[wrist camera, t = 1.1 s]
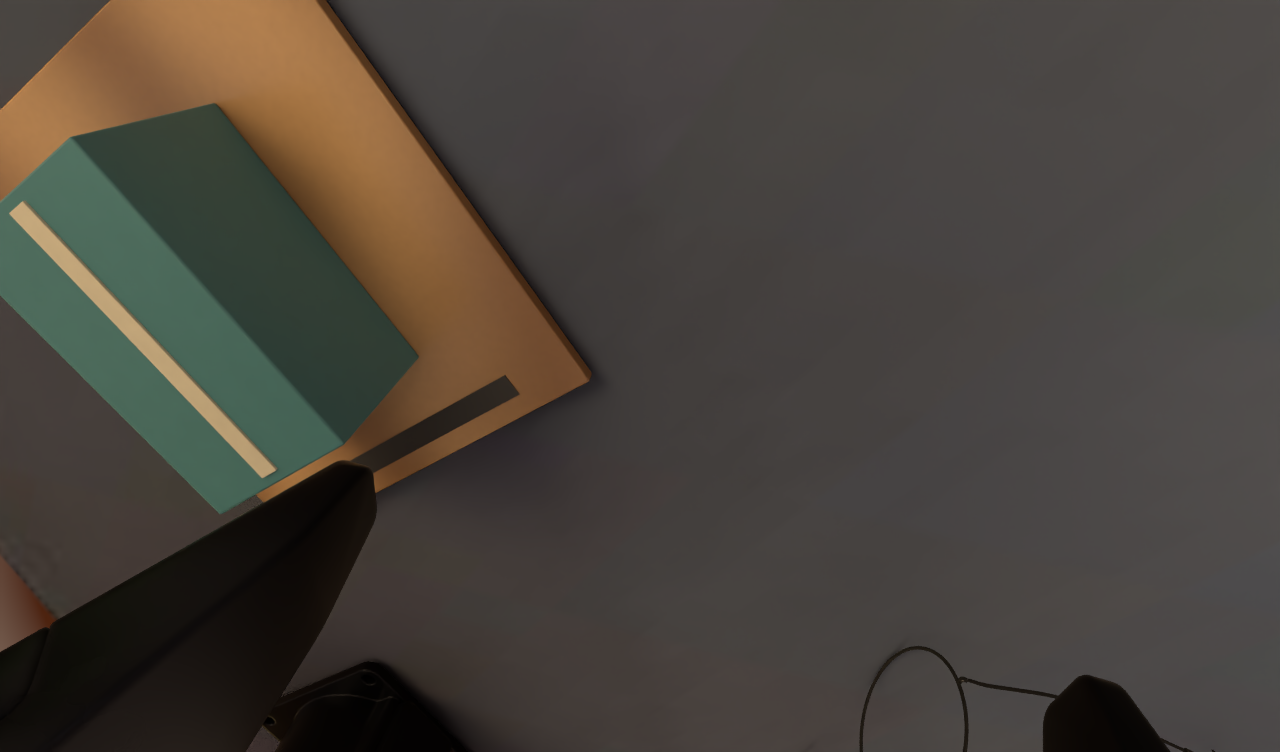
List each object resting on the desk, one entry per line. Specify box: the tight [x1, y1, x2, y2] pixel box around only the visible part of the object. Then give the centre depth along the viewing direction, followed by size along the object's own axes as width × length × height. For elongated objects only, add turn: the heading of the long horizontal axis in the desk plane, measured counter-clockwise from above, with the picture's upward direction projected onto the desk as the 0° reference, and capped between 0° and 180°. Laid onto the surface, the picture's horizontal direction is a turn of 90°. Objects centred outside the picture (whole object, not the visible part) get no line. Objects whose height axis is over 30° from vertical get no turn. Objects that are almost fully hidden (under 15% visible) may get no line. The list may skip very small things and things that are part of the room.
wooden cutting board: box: [0, 0, 592, 502], centre depth 21 cm, size 12×14×1 cm
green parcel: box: [0, 103, 419, 514], centre depth 19 cm, size 8×4×5 cm, turn 32°
